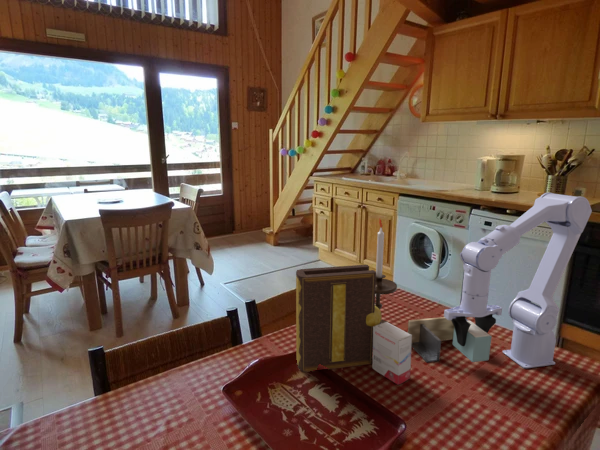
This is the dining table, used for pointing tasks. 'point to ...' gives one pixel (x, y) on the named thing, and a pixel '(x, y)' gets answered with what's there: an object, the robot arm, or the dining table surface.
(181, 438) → the dining table surface
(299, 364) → the book
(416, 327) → the shelf wall
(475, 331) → the boxed book
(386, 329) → the ink box
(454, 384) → the dining table surface
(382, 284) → the candlestick
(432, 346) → the bookend
